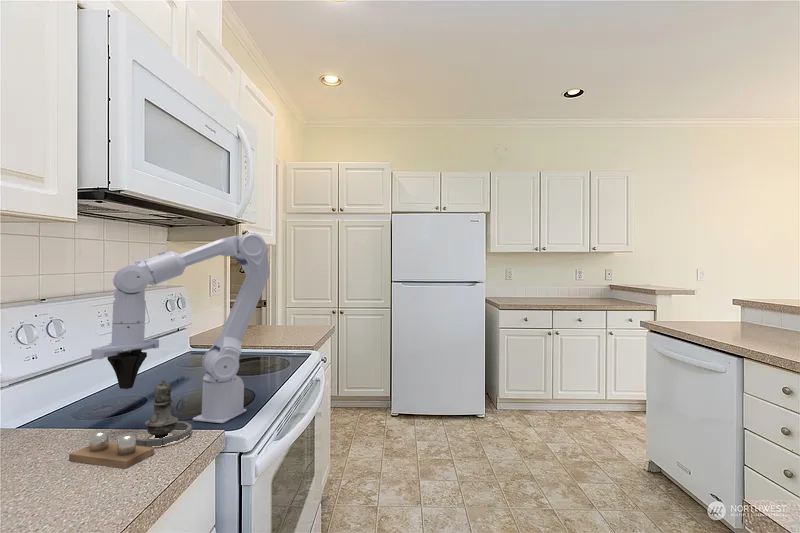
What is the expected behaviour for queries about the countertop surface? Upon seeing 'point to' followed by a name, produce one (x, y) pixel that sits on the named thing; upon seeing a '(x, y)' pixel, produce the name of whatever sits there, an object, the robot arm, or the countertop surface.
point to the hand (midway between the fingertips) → (126, 388)
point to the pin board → (112, 450)
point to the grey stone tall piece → (162, 412)
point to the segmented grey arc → (163, 441)
